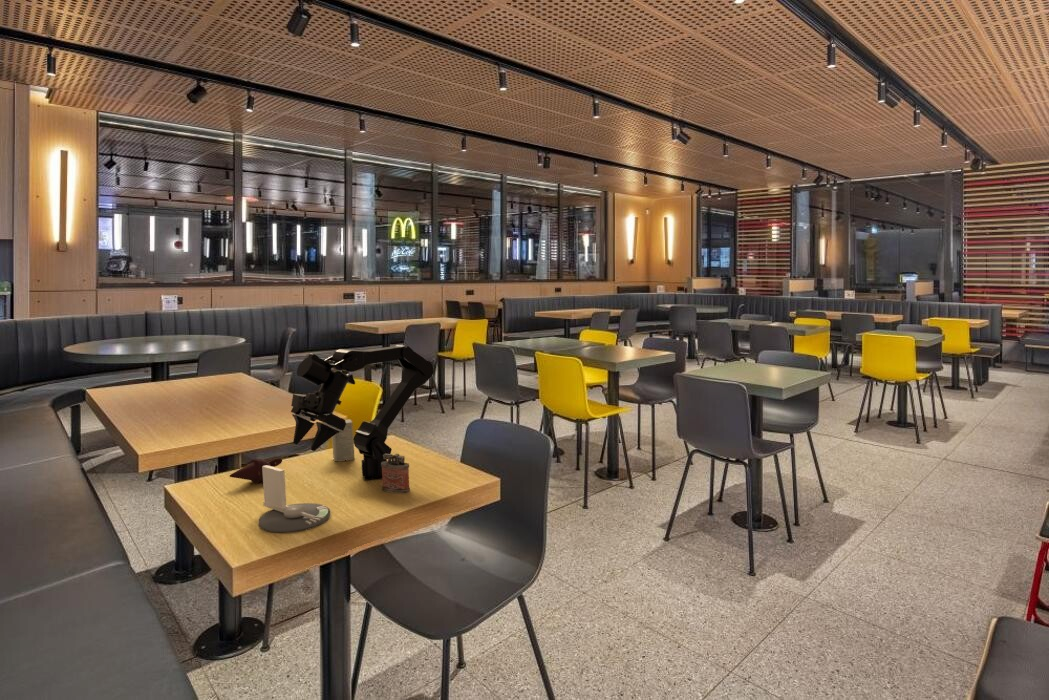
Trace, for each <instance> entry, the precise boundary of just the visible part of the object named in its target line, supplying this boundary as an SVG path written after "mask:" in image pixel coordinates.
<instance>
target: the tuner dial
mask: <svg viewBox="0 0 1049 700" xmlns="http://www.w3.org/2000/svg"><path fill="white" fill-rule="evenodd" d="M298 504H299V505H305V506H306V513H308V514H311V515H314V516H315V519H311V518H308V517H305V516H301V517H298V518H286V517H284V513H283V512H280V511H277V510H274V509H271V510H269V511H267V512H265V513H263V514H262V515H261V516H260V517H259V519H258V527H259V528H260V529H261V530H262V531H265V532H269V533H275V534H276V533H277V534H287V533H288V534H289V533H298V532H303V531H307V530H310V528H311V529H314V528H317V527H319V526H321V525H322V524H324V523H326V522H328V520H329V519H330V518H331V509H330V508H329V507H328V506H326V505H324V504H319V503H315V502H314V503H312V502H307V503H306V502H305V503H304V502H303V503H301V502H300V503H292V504H288V506H291V505H298ZM316 526H317V527H316ZM306 529H307V530H306Z"/></svg>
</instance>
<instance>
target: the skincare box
mask: <svg viewBox="0 0 1049 700" xmlns="http://www.w3.org/2000/svg"><path fill="white" fill-rule="evenodd" d="M344 420H345V421H346V426H345V428H344V430H343V431H342V430H338V431H340V432H339V433H336V434H335V435H334V436H332V437H331V441H332V442H331V443H332V444H331V445H332V455H333V456H332V458H334V459H333V461H334V462H335V461H339V462H346V461H351V460H355V459H356V458H355V445H354V440H353V439H354V426H353V420H352V419H350V418H349V419H344ZM345 460H346V461H345Z"/></svg>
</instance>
